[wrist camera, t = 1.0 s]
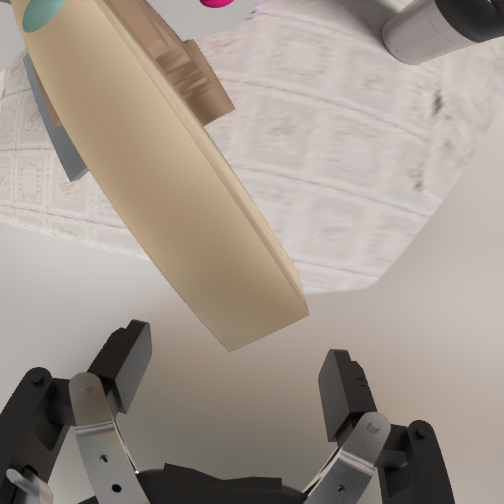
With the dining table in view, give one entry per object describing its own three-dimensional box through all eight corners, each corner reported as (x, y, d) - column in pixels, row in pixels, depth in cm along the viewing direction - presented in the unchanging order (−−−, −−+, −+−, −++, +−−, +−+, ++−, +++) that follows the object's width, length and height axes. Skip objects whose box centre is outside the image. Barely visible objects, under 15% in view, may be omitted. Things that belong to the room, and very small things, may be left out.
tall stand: (191, 37, 32) (89, -83, 2) (238, 114, 37) (171, 32, 7) (154, 59, 33) (10, -18, 4) (197, 136, 38) (47, 133, 9)
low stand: (151, 61, 33) (67, 12, 12) (195, 138, 39) (124, 135, 17) (117, 85, 35) (20, 62, 14) (158, 161, 40) (67, 185, 19)
